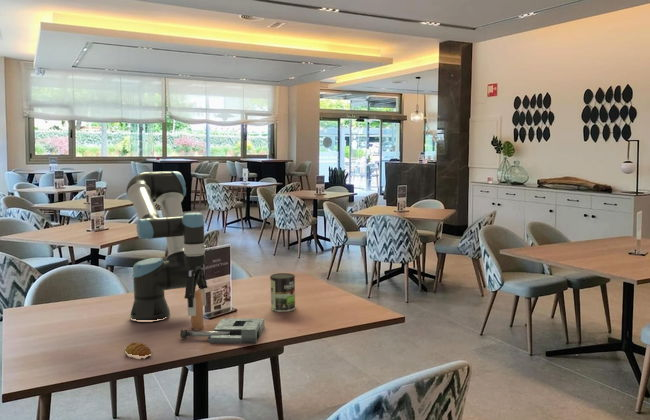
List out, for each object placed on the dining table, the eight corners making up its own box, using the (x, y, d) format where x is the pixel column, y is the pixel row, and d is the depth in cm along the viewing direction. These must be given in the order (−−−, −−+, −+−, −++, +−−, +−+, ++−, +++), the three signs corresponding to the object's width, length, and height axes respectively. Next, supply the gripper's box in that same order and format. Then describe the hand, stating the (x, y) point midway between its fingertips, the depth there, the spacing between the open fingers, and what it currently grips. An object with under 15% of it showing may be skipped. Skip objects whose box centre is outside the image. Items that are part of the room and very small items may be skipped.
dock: (206, 343, 197) (205, 329, 196) (218, 326, 215) (218, 313, 214) (255, 343, 196) (255, 329, 195) (264, 326, 214) (264, 313, 213)
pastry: (157, 356, 186) (156, 345, 186) (139, 363, 181) (139, 351, 180) (139, 350, 192) (139, 339, 191) (122, 356, 186) (121, 345, 186)
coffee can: (300, 307, 238) (299, 274, 237) (284, 313, 230) (283, 279, 229) (282, 303, 245) (281, 271, 243) (265, 309, 236) (264, 276, 235)
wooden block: (190, 330, 211) (188, 293, 210) (193, 326, 216) (192, 290, 214) (201, 330, 211) (200, 293, 209) (205, 326, 215) (203, 290, 214)
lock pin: (180, 339, 200) (180, 331, 200) (183, 336, 203) (182, 328, 203) (228, 339, 199) (228, 331, 199) (230, 336, 202) (230, 328, 202)
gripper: (195, 260, 197) (197, 320, 200) (213, 248, 222) (215, 301, 224) (174, 260, 198) (176, 320, 200) (194, 248, 223) (196, 301, 225)
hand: (197, 310), depth 212 cm, fingers open, 13 cm apart
